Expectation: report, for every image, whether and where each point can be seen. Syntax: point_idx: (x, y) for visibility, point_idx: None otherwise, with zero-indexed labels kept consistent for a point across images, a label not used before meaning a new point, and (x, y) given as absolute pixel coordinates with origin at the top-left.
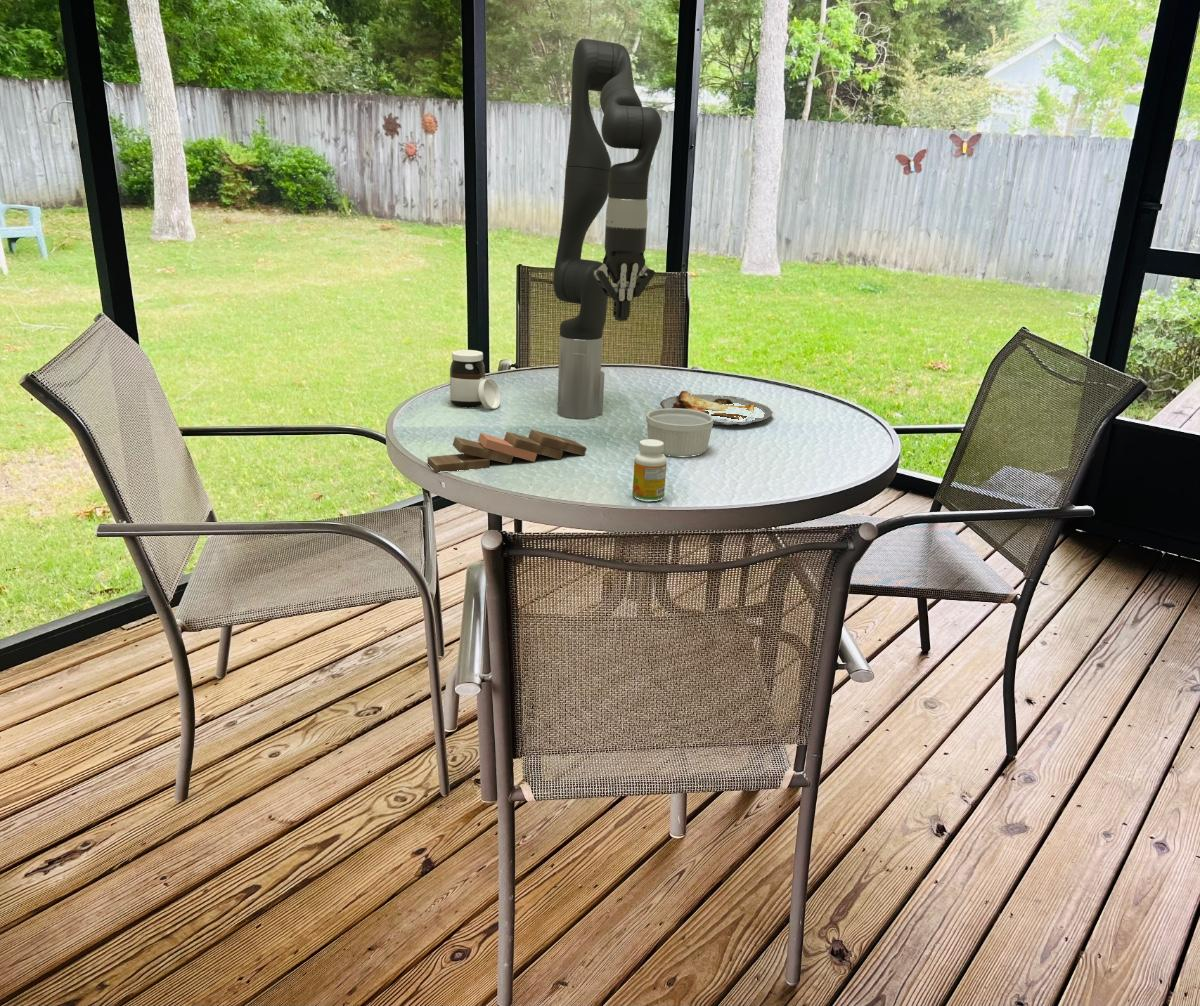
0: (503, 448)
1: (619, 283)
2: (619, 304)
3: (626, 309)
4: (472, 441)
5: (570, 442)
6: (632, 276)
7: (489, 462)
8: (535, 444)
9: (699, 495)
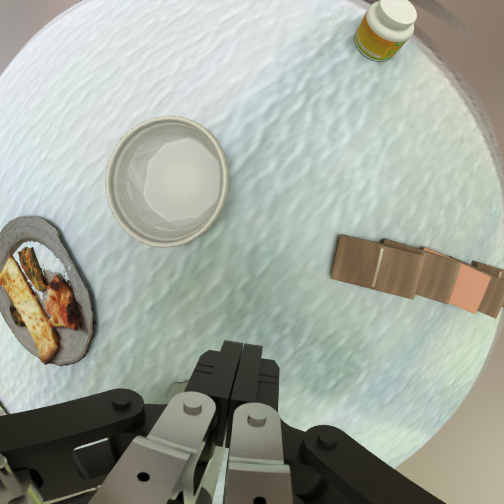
0: (468, 266)
1: (287, 499)
2: (262, 401)
3: (225, 367)
4: (479, 308)
5: (362, 254)
6: None
7: (476, 262)
8: (431, 254)
9: (306, 14)
